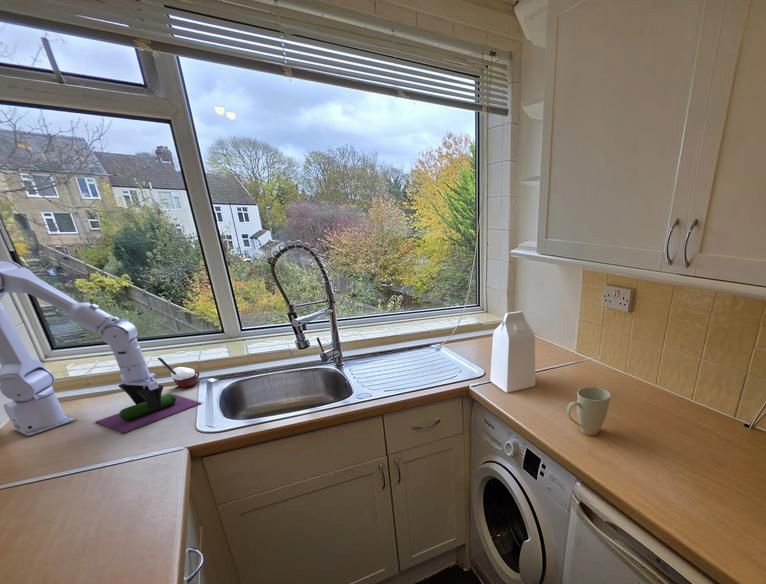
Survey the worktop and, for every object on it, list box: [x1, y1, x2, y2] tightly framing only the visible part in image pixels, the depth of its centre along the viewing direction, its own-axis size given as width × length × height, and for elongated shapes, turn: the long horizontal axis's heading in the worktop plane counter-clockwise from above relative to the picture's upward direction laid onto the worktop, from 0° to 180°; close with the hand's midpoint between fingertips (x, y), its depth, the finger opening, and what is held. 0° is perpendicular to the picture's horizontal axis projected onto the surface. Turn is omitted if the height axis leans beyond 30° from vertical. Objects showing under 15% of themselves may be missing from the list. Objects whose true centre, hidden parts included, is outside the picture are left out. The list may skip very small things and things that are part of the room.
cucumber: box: [118, 393, 176, 420], centre depth 120 cm, size 14×4×4 cm, turn 156°
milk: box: [489, 310, 536, 394], centre depth 141 cm, size 12×12×26 cm
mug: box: [566, 386, 611, 436], centre depth 113 cm, size 11×10×12 cm
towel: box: [95, 393, 202, 434], centre depth 121 cm, size 20×14×1 cm
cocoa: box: [157, 357, 200, 389], centre depth 136 cm, size 10×6×12 cm, turn 136°
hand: (148, 406), depth 120 cm, fingers open, 7 cm apart
